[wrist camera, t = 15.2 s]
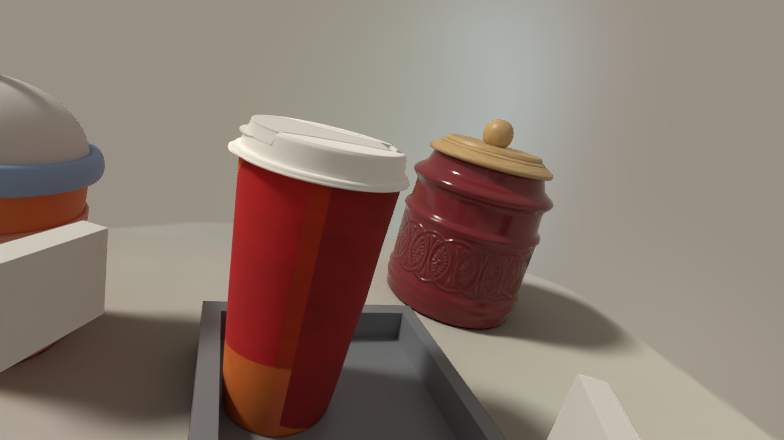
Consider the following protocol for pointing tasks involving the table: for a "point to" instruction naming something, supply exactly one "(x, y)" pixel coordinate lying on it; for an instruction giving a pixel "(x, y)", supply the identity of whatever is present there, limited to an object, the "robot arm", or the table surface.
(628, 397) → the table surface
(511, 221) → the canister
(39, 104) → the cup with straw
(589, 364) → the table surface
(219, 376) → the tray
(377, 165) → the paper cup
